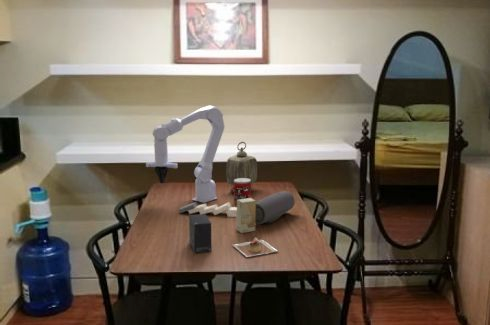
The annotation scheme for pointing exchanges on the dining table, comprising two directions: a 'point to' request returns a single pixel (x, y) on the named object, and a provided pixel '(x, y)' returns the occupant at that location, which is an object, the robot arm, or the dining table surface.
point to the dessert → (255, 246)
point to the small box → (200, 233)
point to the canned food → (242, 189)
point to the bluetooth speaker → (273, 207)
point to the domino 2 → (198, 208)
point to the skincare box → (246, 215)
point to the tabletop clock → (241, 167)
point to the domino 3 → (209, 209)
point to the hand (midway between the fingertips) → (162, 182)
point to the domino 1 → (188, 207)
